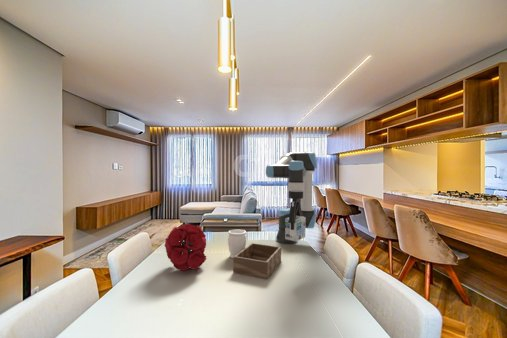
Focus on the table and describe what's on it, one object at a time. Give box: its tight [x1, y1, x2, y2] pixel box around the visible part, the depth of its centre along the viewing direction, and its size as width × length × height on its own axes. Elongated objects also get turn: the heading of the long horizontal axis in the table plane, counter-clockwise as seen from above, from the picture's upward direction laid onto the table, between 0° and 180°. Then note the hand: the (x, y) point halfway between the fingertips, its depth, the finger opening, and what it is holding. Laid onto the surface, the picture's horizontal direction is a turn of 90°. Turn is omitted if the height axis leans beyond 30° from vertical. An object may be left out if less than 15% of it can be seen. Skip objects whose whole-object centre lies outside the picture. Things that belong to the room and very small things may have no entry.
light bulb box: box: [285, 215, 306, 243], centre depth 121 cm, size 11×7×11 cm, turn 143°
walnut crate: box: [232, 242, 282, 280], centre depth 125 cm, size 24×18×8 cm
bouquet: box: [164, 223, 207, 271], centre depth 126 cm, size 22×24×30 cm
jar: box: [227, 229, 247, 259], centre depth 139 cm, size 11×10×15 cm
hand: (295, 232), depth 121 cm, fingers closed on light bulb box, 11 cm apart
